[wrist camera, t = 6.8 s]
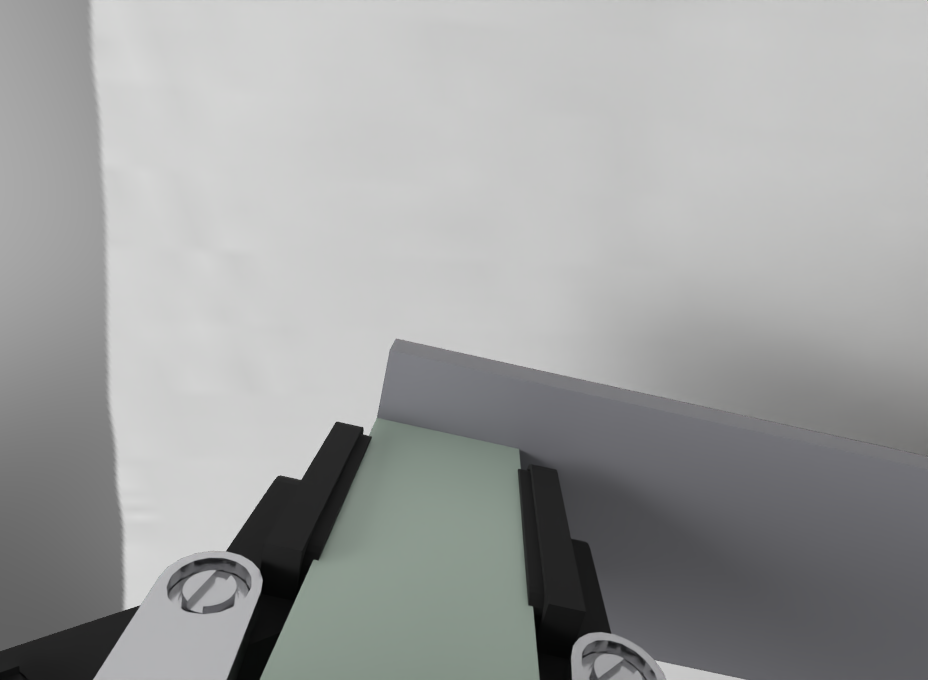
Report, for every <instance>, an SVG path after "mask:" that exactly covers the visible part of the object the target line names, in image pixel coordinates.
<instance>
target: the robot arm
mask: <svg viewBox="0 0 928 680" xmlns="http://www.w3.org/2000/svg"><path fill="white" fill-rule="evenodd" d="M371 439H372V436H367V435H363V427H359V426H354V425H350V424H345V423H341V422H336V423H335V425H334V426H333V428H332V430H331V431H330V433H329V435H328V436H327V438H326V440H325V441H324V443H323V445H322V446H321V448H320V450H319V451H318V453H317V455H316V456H315V458H314V460H313V461H312V463H311V465H310V466H309V468H308V470H307V471H306V473H305V475H304V476H303V478H302V480H298V479H294V478H289V477H285V476H278V477H277V478H276V479H275V480H274V481H273V483H272V484H271V486H270V487H269V489H268V490H267V492H266V493H265V495H264V496H263V498H262V499H261V501H260V502H259V504H258V505H257V506H256V508H255V509H254V511H253V512H252V514H251V515H250V517H249V518H248V520H247V521H246V523H245V524H244V526H243V527H242V529H241V530H240V531H239V533H238V534H237V536H236V537H235V539H234V540H233V542H232V543H231V545H230V546H229V548H228V549H227V551H226V552H224V551H208V552H202V553H195V554H193V555H190V556H187V557H184V558H181V559H180V560H178V561H176V562H175V563H173V564H172V565H170V566H168V567H167V568H166V570H165V571H164V572H163V573H162V574H161V575H160V576H159V577H158V579H157V581H156V582H155V584H154V585H153V587H152V588H151V590H150V592H149V593H148V595H147V596H146V598H145V599H144V601H143V602H142V604H141V605H140V606H137V607H134V608H131V609H128V610H125V611H122V612H119V613H115V614H112V615H109V616H106V617H103V618H100V619H97V620H94V621H92V622H88V623H85V624H82V625H79V626H76V627H73V628H70V629H67V630H64V631H61V632H58V633H55V634H52V635H49V636H46V637H43V638H39V639H37V640H33V641H30V642H27V643H25V644H21V645H18V646H15V647H12V648H9V649H6V650H3V651H0V680H260V678H261V676H262V673H263V671H264V669H265V667H266V664H267V662H268V660H269V658H270V656H271V653H272V651H273V649H274V647H275V644H276V642H277V640H278V638H279V635H280V633H281V631H282V629H283V627H284V624H285V622H286V620H287V618H288V615H289V613H290V611H291V609H292V606H293V604H294V602H295V600H296V598H297V595H298V593H299V591H300V589H301V586H302V584H303V582H304V580H305V577H306V575H307V573H308V571H309V568H310V566H311V564H312V562H313V560H318V561H319V559H320V556H321V554H322V552H323V549H324V547H325V545H326V542H327V540H328V538H329V536H330V533H331V531H332V529H333V526H334V524H335V522H336V519H337V517H338V515H339V512H340V510H341V508H342V506H343V503H344V501H345V499H346V496H347V494H348V492H349V489H350V487H351V485H352V483H353V480H354V478H355V476H356V473H357V471H358V469H359V466H360V464H361V462H362V459H363V457H364V455H365V453H366V450H367V448H368V446H369V443H370V441H371ZM518 480H519V493H520V506H521V519H522V532H523V545H524V558H525V571H526V584H527V597H528V606H533V612H534V623H535V634H536V645H537V657H538V668H539V679H540V680H666V678H665V675H664V673H663V671H662V670H661V668H660V667H659V666H658V664H657V663H656V661H655V660H654V659H653V658H652V657H651V656H650V655H649V654H648V653H646V652H645V651H644V650H643V649H642V648H640V647H639V646H637V645H636V644H634V643H633V642H631V641H629V640H627V639H625V638H622V637H620V636H617V635H615V634H611V630H610V626H609V622H608V618H607V614H606V610H605V606H604V602H603V598H602V594H601V590H600V586H599V582H598V578H597V573H596V569H595V565H594V561H593V557H592V553H591V549H590V547H589V544H588V543H587V542H585V541H580V540H576V539H571V536H570V531H569V526H568V521H567V516H566V511H565V506H564V501H563V496H562V492H561V487H560V482H559V477H558V472H557V470H556V469H551V468H547V467H542V466H538V465H533V464H529V466H528V468H527V470H523V469H518Z"/></svg>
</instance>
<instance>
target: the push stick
mask: <svg viewBox="0 0 928 680" xmlns="http://www.w3.org/2000/svg"><path fill="white" fill-rule="evenodd" d="M369 436H372V439H371V441H370V443H369V446H368V448H367V450H366V453H365V455H364V457H363V459H362V462H361V464H360V466H359V469H358V471H357V473H356V476H355V478H354V480H353V483H352V485H351V487H350V489H349V492H348V494H347V496H346V499H345V501H344V503H343V506H342V508H341V510H340V512H339V515H338V517H337V519H336V522H335V524H334V526H333V529H332V531H331V533H330V536H329V538H328V540H327V542H326V545H325V547H324V549H323V552H322V554H321V556H320V559H319V561H318V560H313V562H312V564H311V566H310V568H309V571H308V573H307V575H306V577H305V580H304V582H303V584H302V586H301V589H300V591H299V593H298V595H297V598H296V600H295V602H294V604H293V606H292V609H291V611H290V613H289V615H288V618H287V620H286V622H285V624H284V627H283V629H282V631H281V633H280V635H279V638H278V640H277V642H276V644H275V647H274V649H273V651H272V653H271V656H270V658H269V660H268V662H267V664H266V667H265V669H264V671H263V673H262V676H261V678H260V680H540V679H539V668H538V657H537V645H536V634H535V623H534V612H533V606H528V597H527V584H526V571H525V558H524V545H523V532H522V519H521V506H520V493H519V480H518V469H523V470H527V468H528V466H529V464H533V465H538V466H542V467H547V468H551V469H556V470H557V472H558V477H559V482H560V487H561V492H562V496H563V501H564V506H565V511H566V516H567V521H568V526H569V531H570V536H571V539H576V540H580V541H585V542H587V543H588V544H589V547H590V549H591V553H592V557H593V561H594V565H595V569H596V573H597V578H598V582H599V586H600V590H601V594H602V598H603V602H604V606H605V610H606V614H607V618H608V622H609V626H610V630H611V634H615V635H617V636H620V637H622V638H625V639H627V640H629V641H631V642H633V643H634V644H636V645H637V646H639V647H640V648H642V649H643V650H644V651H645V652H646V653H648V654H649V655H650V656H651V657H652V658H653V659H654V660H657V661H662V662H666V663H671V664H676V665H680V666H685V667H690V668H694V669H699V670H704V671H708V672H713V673H718V674H723V675H727V676H732V677H737V678H741V679H746V680H928V456H924V455H919V454H915V453H910V452H906V451H901V450H897V449H892V448H888V447H883V446H879V445H874V444H870V443H865V442H861V441H856V440H852V439H847V438H843V437H838V436H834V435H829V434H825V433H820V432H816V431H811V430H807V429H802V428H797V427H793V426H788V425H784V424H779V423H775V422H770V421H766V420H761V419H757V418H752V417H748V416H743V415H739V414H734V413H730V412H725V411H721V410H716V409H712V408H707V407H703V406H698V405H694V404H689V403H685V402H680V401H676V400H671V399H666V398H662V397H657V396H653V395H648V394H644V393H639V392H635V391H630V390H626V389H621V388H617V387H612V386H608V385H603V384H599V383H594V382H590V381H585V380H581V379H576V378H572V377H567V376H563V375H558V374H554V373H549V372H545V371H540V370H536V369H531V368H526V367H522V366H517V365H513V364H508V363H504V362H499V361H495V360H490V359H486V358H481V357H477V356H472V355H468V354H463V353H459V352H454V351H450V350H445V349H441V348H436V347H432V346H427V345H423V344H418V343H414V342H409V341H405V340H400V339H396V340H395V342H394V343H393V345H392V347H391V349H390V352H389V357H388V362H387V368H386V373H385V378H384V384H383V389H382V394H381V399H380V405H379V410H378V415H377V419H376V421H375V423H374V426H373V428H372V430H371V432H370V435H369Z"/></svg>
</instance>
